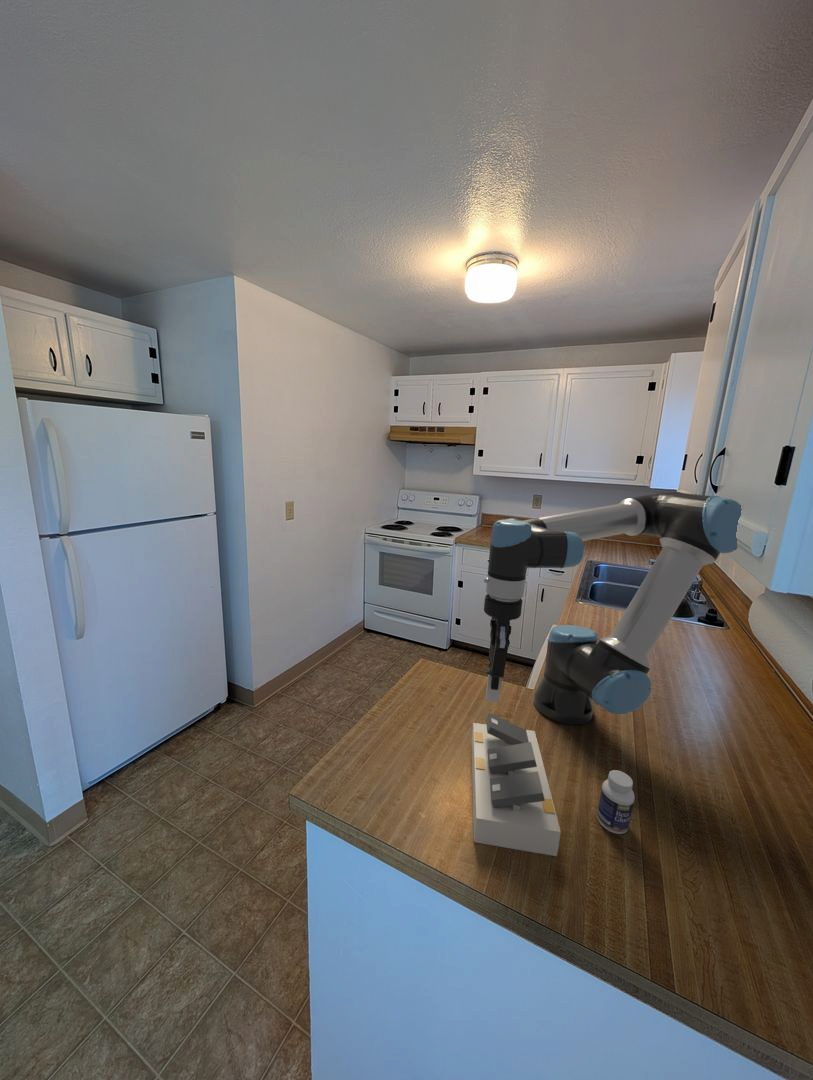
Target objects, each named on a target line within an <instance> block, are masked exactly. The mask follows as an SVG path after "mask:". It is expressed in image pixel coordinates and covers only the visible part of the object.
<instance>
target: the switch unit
mask: <svg viewBox="0 0 813 1080" xmlns="http://www.w3.org/2000/svg"><path fill="white" fill-rule="evenodd" d="M525 730H526V732H527V736H528V741H529V742H531V744H532V748H533V752H534V756H535V761H536V765H537V767H532V768H526V769H519V770H513V771H506V772H500V773H493V774H491V773H490V770H489V765H488V752H487V749H491V748H497V747H503V746H509V745H512V744H510V743H508V742H505V741H503V740H501V739H499V738H497V737H495V736H493V735H491V734H488V733H487V725H486V723H477V722H476V723H475V722H472V731H471V742H470V743H471V771H472V773H471V776H472V777H471V778H472V779H471V780H472V781H471V782H472V812H473V813H472V814H473V815H472V817H473V819H472V820H473V822H472V824H473V842H474V843H476V844H477V843H478V844H482V845H483V844H484V845H488V846H495V847H500V848H504V849H505V848H507V849H511V850H517V851H523V852H528V853H529V852H530V853H535V854H542V855H545V856H553V857H558V851H559V846H560V839H561V832H562V831H561V828H560V824H559V819H558V815H557V812H556V808H555V804H554V801H553V797H552V793H551V789H550V785H549V782H548V776H547V773H546V769H545V765H544V762H543V758H542V753H541V749H540V746H539V742H538V739H537V734H536V731H535V730H530V729H529V730H528V729H525ZM536 771H538V774H539V778H540V782H541V786H542V790H543V795H544V799H545V801H540V802H533V803H526V804H519V805H511V806H504V807H497V808H493V804H492V801H491V790H490V778H497V777H503V776H510V775H517V774H523V773H530V772H536Z"/></svg>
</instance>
